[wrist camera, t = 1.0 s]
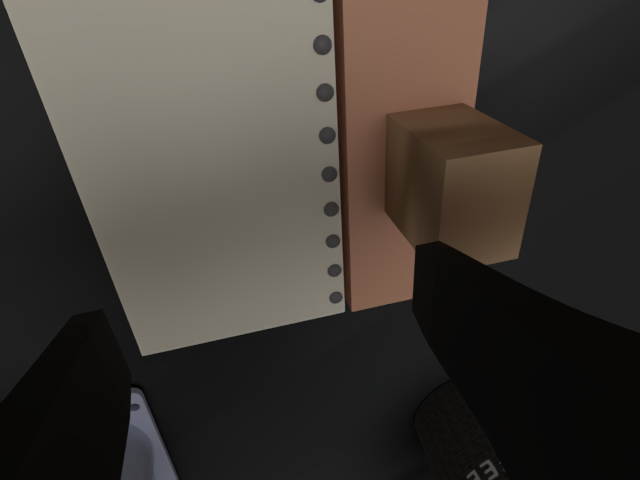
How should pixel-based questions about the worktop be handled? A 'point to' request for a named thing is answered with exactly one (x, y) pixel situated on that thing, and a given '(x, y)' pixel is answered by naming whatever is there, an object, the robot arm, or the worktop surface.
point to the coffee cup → (455, 439)
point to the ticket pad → (199, 155)
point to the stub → (420, 145)
